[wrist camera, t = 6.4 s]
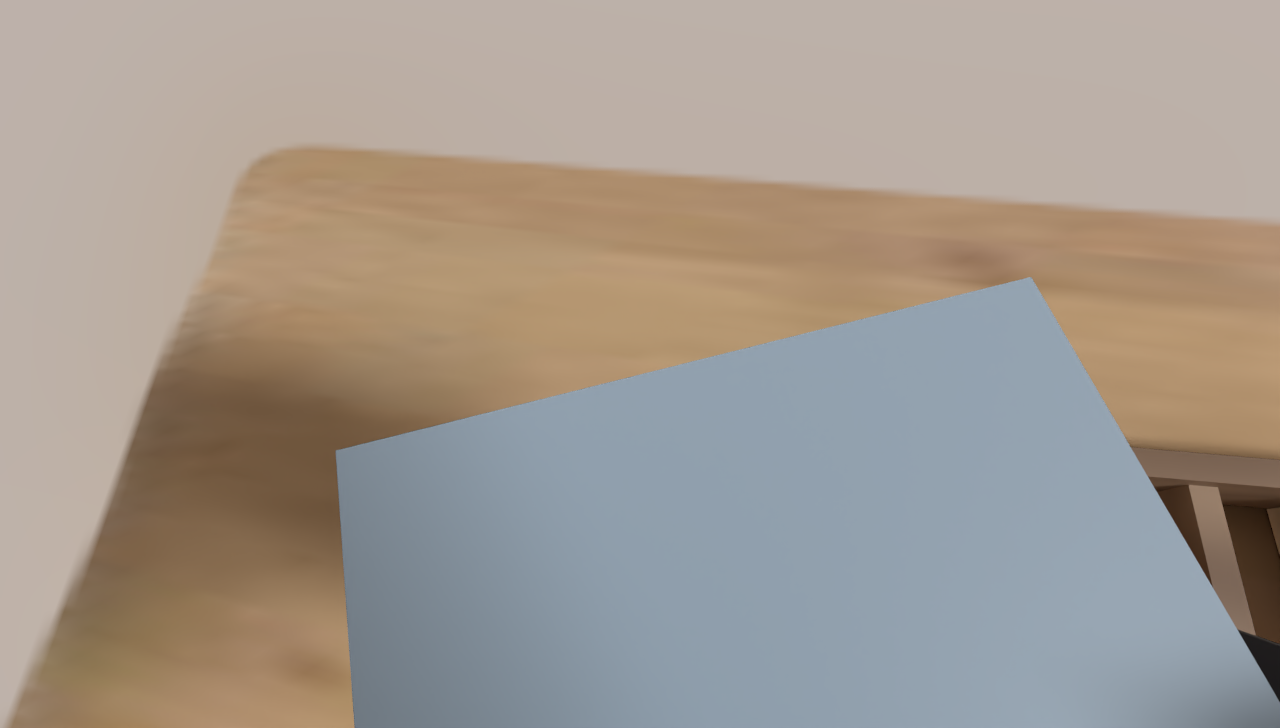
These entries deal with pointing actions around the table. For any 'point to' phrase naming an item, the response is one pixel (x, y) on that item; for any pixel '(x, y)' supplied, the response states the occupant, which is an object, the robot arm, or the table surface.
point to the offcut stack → (1275, 524)
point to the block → (792, 548)
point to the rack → (1213, 510)
